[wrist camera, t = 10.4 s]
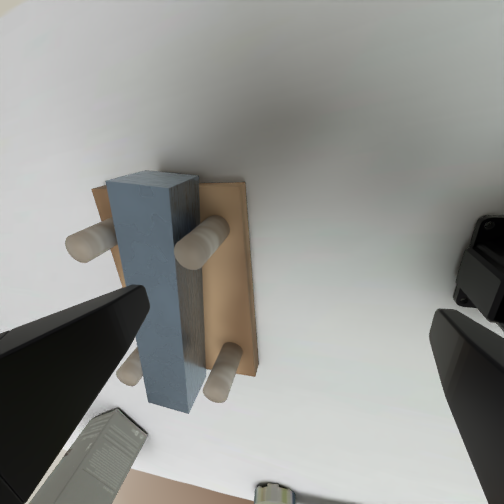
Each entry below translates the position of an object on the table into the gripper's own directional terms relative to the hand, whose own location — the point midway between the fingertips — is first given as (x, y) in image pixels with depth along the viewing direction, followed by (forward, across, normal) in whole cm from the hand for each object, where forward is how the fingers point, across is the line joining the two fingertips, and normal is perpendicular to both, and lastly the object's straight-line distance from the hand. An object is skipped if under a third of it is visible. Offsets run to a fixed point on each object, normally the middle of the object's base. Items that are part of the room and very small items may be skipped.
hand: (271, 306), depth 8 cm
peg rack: (+12, +10, +7) cm, 17 cm away
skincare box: (+12, +26, +34) cm, 44 cm away
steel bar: (+10, +10, +7) cm, 16 cm away
